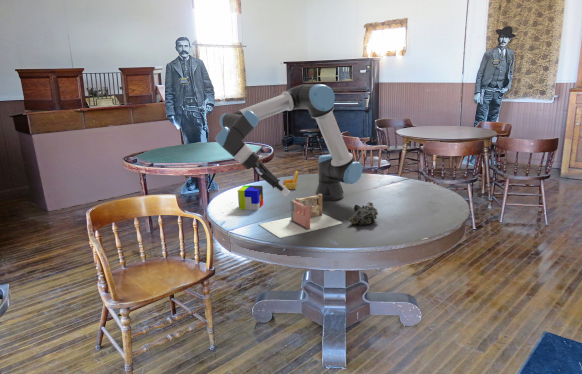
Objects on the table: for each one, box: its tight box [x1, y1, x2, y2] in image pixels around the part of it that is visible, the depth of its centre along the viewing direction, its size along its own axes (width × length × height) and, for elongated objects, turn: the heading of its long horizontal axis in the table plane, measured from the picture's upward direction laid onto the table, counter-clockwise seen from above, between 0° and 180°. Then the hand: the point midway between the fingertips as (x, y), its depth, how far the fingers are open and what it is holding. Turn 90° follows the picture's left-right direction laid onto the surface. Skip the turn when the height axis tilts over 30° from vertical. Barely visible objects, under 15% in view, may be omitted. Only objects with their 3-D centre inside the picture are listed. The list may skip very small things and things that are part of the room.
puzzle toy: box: [237, 184, 264, 211], centre depth 225 cm, size 10×10×10 cm
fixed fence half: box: [294, 194, 323, 217], centre depth 205 cm, size 14×2×10 cm, turn 120°
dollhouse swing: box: [282, 170, 299, 190], centre depth 261 cm, size 10×10×9 cm
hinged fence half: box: [290, 199, 310, 228], centre depth 195 cm, size 14×2×10 cm, turn 30°
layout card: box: [258, 213, 344, 239], centre depth 198 cm, size 32×20×1 cm, turn 120°
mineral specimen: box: [347, 201, 379, 226], centre depth 198 cm, size 15×13×10 cm
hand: (288, 194), depth 190 cm, fingers closed
